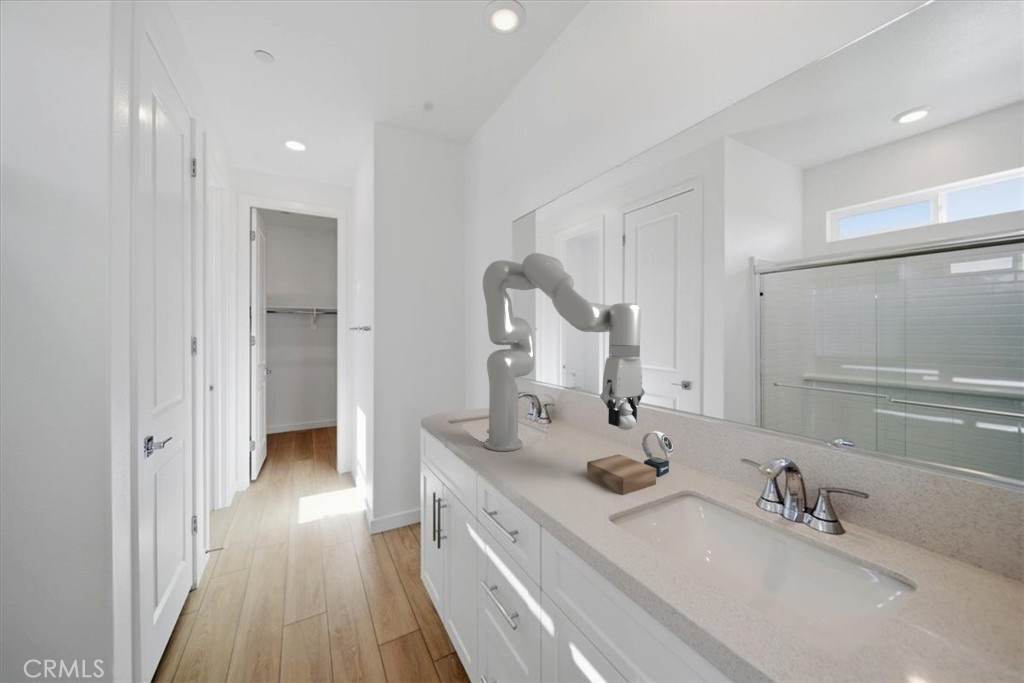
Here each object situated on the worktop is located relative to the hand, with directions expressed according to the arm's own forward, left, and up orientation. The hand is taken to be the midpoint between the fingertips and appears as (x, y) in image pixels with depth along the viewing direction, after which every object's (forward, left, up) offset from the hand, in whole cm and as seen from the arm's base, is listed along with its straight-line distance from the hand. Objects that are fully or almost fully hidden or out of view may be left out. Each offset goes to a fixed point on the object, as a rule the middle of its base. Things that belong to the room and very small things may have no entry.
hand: (622, 422), depth 93 cm
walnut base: (0, 0, -15) cm, 15 cm away
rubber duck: (0, 0, -2) cm, 2 cm away
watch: (+1, +13, -15) cm, 20 cm away
